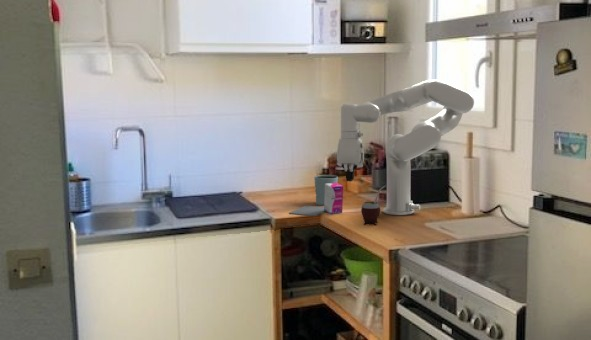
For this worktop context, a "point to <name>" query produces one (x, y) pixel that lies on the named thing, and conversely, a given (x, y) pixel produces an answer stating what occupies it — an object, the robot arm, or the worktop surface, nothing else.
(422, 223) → the worktop surface
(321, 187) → the grey plant pot
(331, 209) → the supplement box
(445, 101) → the robot arm
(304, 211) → the mat
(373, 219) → the mate gourd
